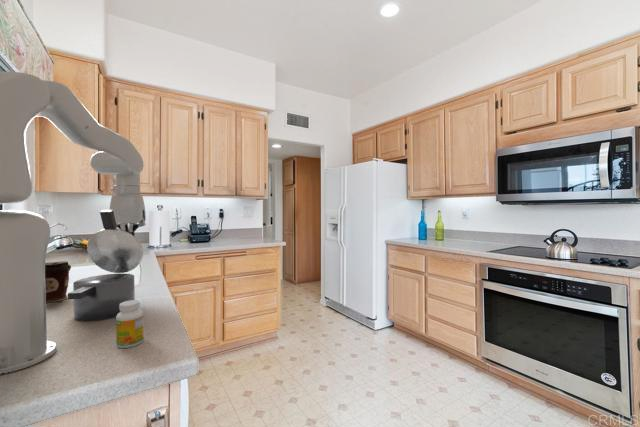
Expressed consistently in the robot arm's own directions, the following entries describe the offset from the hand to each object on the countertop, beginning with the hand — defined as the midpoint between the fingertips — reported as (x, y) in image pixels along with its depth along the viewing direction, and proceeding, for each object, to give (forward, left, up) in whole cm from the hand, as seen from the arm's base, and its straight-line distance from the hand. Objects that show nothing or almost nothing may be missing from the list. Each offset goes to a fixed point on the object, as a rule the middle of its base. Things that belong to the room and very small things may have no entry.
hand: (129, 242), depth 103 cm
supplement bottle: (-37, -18, -20) cm, 46 cm away
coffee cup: (0, +24, -20) cm, 31 cm away
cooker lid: (-10, 0, +1) cm, 10 cm away
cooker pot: (-17, 0, -19) cm, 25 cm away
